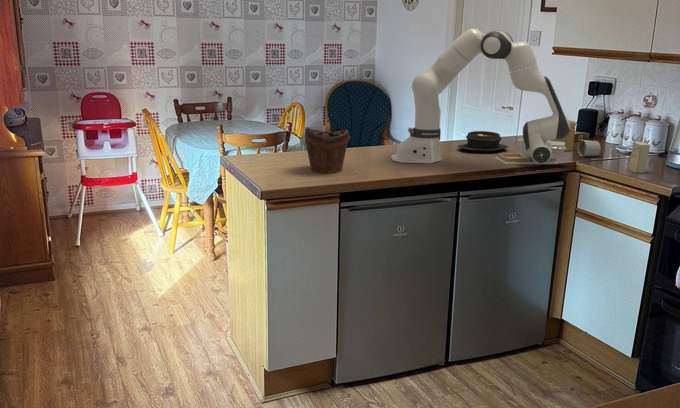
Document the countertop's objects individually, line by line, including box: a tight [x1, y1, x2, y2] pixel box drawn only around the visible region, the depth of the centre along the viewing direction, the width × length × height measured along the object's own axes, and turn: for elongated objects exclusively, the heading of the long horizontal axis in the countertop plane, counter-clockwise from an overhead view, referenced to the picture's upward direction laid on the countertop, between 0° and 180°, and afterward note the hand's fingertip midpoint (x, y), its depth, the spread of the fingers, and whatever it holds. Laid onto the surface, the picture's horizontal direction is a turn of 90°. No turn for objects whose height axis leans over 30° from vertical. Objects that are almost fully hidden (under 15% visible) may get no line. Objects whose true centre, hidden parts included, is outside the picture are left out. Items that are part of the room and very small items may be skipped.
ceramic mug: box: [577, 139, 602, 158], centre depth 290 cm, size 11×8×8 cm
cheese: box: [550, 119, 577, 152], centre depth 299 cm, size 22×10×15 cm, turn 112°
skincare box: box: [628, 141, 651, 174], centre depth 258 cm, size 6×4×12 cm
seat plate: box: [494, 152, 559, 165], centre depth 277 cm, size 24×13×2 cm, turn 95°
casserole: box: [457, 130, 509, 153], centre depth 299 cm, size 25×19×8 cm
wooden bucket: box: [304, 127, 351, 174], centre depth 253 cm, size 18×20×18 cm
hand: (540, 142), depth 276 cm, fingers closed on sleeve, 4 cm apart
